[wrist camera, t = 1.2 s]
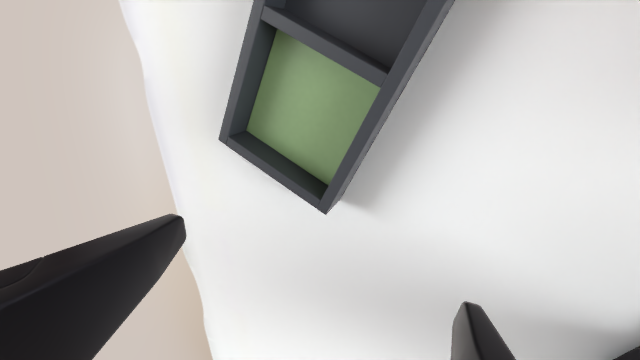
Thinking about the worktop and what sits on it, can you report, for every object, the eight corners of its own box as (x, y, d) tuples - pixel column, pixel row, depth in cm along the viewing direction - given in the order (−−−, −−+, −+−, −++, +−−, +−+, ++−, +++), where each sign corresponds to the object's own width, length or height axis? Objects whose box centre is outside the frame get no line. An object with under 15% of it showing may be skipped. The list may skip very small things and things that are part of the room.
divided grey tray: (524, -121, 13) (532, -151, 11) (339, 200, 23) (325, 215, 21) (334, -193, 15) (311, -231, 13) (239, 132, 25) (217, 139, 23)
